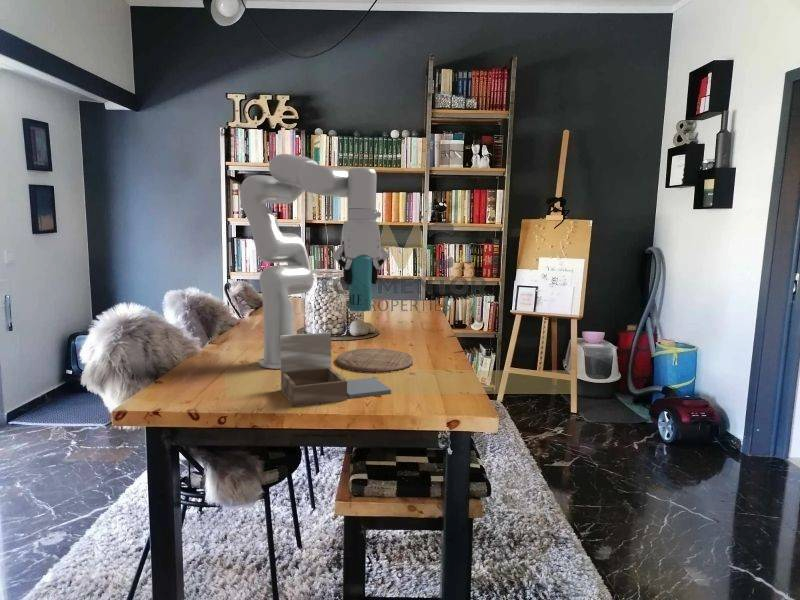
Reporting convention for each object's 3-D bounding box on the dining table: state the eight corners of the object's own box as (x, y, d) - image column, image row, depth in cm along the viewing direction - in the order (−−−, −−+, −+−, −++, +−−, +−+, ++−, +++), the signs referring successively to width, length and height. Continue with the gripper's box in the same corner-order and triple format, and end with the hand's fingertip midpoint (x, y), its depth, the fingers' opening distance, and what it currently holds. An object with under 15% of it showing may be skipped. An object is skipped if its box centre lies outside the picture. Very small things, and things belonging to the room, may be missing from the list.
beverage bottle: (372, 313, 145) (374, 240, 142) (371, 317, 139) (373, 241, 136) (348, 312, 145) (350, 240, 142) (346, 316, 139) (347, 240, 136)
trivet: (404, 377, 159) (404, 371, 159) (326, 370, 164) (326, 364, 164) (418, 356, 184) (418, 351, 183) (349, 351, 189) (350, 346, 188)
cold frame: (280, 389, 144) (280, 335, 141) (329, 383, 149) (330, 332, 147) (293, 406, 130) (293, 347, 128) (346, 400, 136) (347, 343, 134)
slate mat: (335, 385, 148) (335, 381, 148) (374, 380, 153) (374, 377, 153) (349, 398, 138) (349, 394, 138) (391, 393, 143) (391, 389, 143)
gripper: (386, 217, 145) (385, 281, 148) (325, 215, 138) (325, 282, 141) (397, 217, 138) (395, 284, 141) (334, 215, 131) (333, 286, 134)
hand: (360, 283), depth 141 cm, fingers closed on beverage bottle, 6 cm apart
